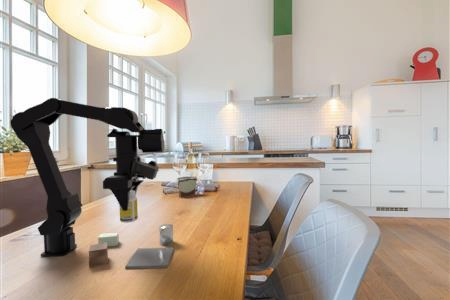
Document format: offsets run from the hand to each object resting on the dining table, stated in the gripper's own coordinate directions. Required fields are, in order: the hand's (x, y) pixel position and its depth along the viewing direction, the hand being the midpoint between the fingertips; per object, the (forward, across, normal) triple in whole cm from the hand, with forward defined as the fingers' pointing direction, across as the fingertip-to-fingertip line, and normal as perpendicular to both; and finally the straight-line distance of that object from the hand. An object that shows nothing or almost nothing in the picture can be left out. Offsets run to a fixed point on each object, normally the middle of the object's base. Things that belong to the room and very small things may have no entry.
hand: (128, 208), depth 73 cm
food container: (+12, +67, -8) cm, 68 cm away
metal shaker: (+12, +3, -10) cm, 16 cm away
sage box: (+12, +3, +7) cm, 14 cm away
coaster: (+12, -7, -8) cm, 16 cm away
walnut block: (+12, -8, +5) cm, 15 cm away
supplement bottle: (+4, 0, 0) cm, 4 cm away
